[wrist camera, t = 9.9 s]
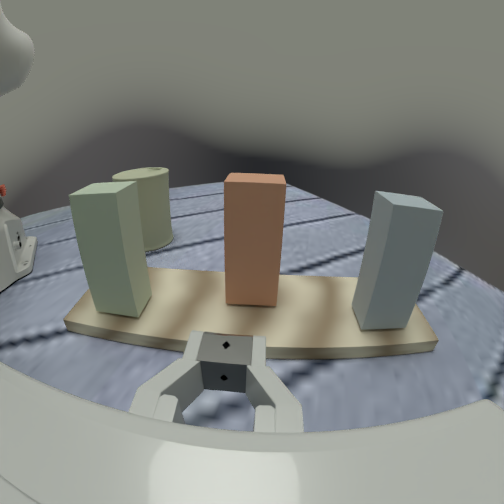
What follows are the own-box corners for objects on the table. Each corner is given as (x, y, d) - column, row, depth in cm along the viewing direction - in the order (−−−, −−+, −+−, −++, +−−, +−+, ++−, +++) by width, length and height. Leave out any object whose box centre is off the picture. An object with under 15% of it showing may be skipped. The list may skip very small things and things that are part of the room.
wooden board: (67, 330, 24) (62, 316, 23) (112, 274, 35) (110, 261, 34) (433, 350, 23) (440, 337, 22) (395, 288, 34) (399, 275, 33)
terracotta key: (225, 303, 28) (224, 181, 22) (230, 281, 31) (230, 172, 26) (276, 305, 27) (286, 184, 22) (275, 284, 31) (283, 175, 26)
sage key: (96, 310, 25) (68, 195, 19) (112, 289, 28) (92, 183, 23) (138, 317, 25) (115, 192, 19) (151, 293, 28) (136, 180, 23)
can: (184, 237, 46) (180, 166, 41) (141, 258, 39) (131, 177, 34) (151, 226, 51) (146, 163, 45) (111, 242, 44) (101, 173, 38)
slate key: (361, 329, 24) (393, 204, 19) (351, 304, 28) (375, 190, 22) (405, 327, 24) (443, 211, 19) (392, 304, 27) (421, 197, 22)
